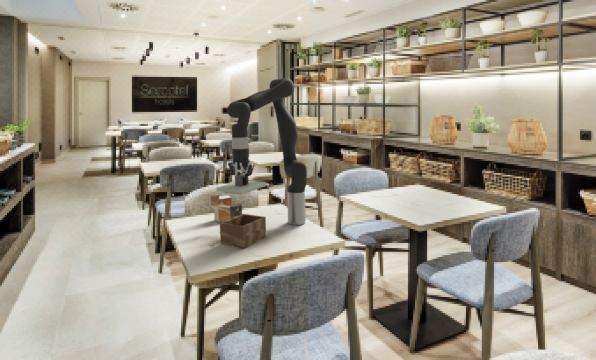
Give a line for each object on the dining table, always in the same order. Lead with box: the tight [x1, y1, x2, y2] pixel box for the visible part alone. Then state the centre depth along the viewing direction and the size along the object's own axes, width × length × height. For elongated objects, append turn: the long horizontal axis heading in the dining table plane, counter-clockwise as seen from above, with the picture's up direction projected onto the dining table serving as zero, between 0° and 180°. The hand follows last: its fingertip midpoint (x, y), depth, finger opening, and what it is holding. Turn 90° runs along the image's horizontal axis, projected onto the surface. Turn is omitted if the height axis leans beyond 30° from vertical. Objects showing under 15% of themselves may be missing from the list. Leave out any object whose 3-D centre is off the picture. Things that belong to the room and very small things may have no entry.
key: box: [210, 193, 239, 211], centre depth 208 cm, size 3×15×6 cm, turn 60°
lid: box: [216, 173, 267, 196], centre depth 193 cm, size 19×14×7 cm
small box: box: [213, 194, 233, 223], centre depth 231 cm, size 8×6×13 cm
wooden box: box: [219, 203, 267, 250], centre depth 198 cm, size 18×16×15 cm
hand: (241, 184), depth 193 cm, fingers closed on lid, 3 cm apart
